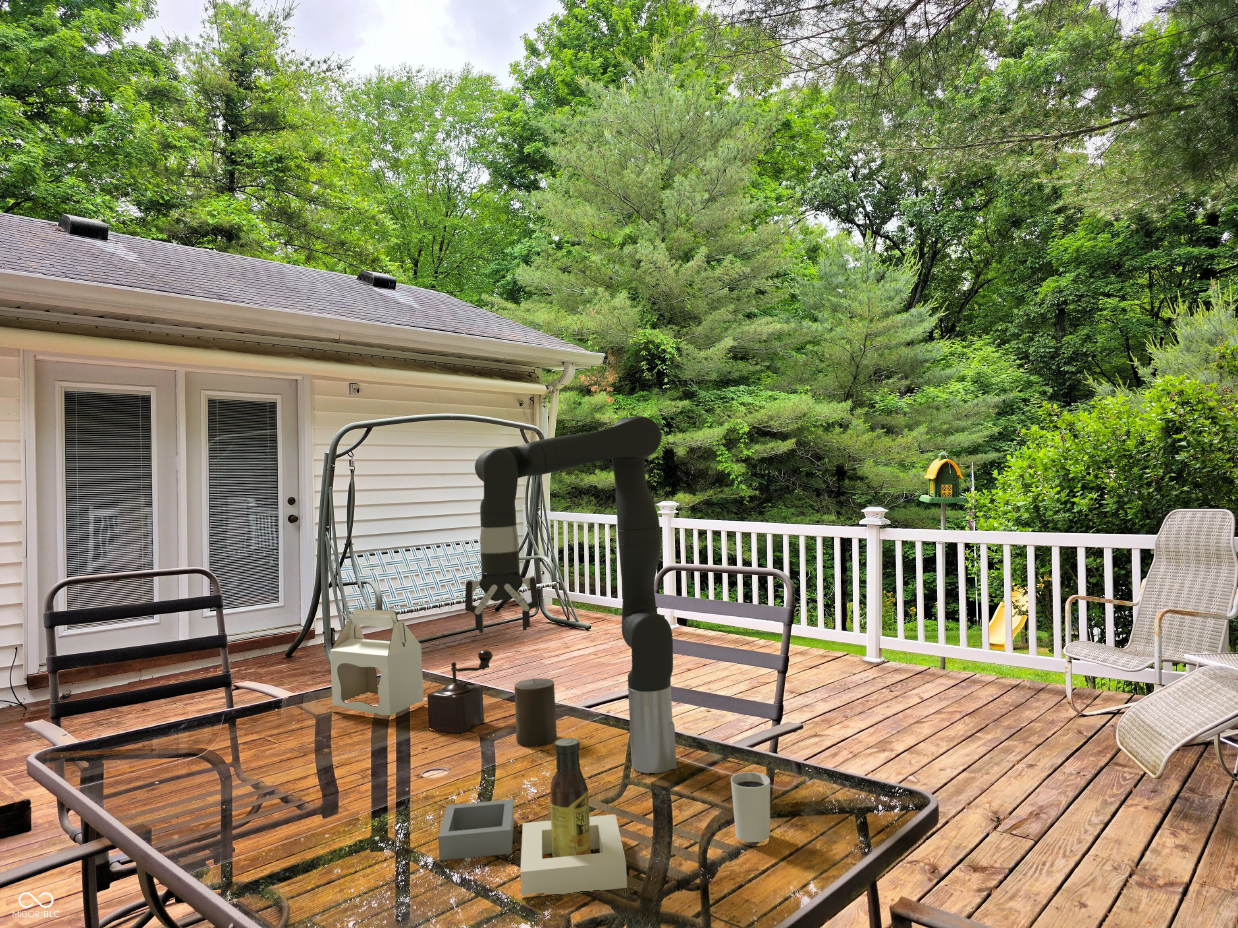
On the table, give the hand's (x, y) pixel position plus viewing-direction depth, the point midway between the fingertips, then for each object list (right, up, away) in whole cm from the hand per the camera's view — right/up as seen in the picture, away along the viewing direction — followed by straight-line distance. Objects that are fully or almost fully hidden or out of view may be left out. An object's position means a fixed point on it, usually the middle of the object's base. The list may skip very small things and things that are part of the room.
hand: (503, 630), depth 149 cm
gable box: (-45, -36, +63) cm, 85 cm away
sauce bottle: (+15, -32, -27) cm, 45 cm away
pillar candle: (+3, -34, +32) cm, 46 cm away
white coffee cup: (+46, -31, -21) cm, 59 cm away
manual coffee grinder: (-17, -35, +47) cm, 61 cm away
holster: (-2, -33, -17) cm, 37 cm away
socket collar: (+15, -32, -27) cm, 45 cm away
